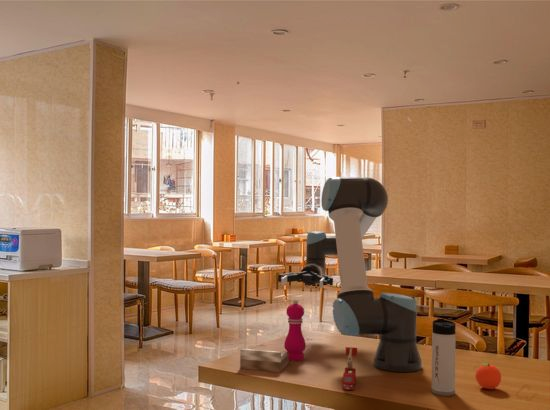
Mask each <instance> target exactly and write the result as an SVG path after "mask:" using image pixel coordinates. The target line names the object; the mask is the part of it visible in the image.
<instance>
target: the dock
mask: <svg viewBox="0 0 550 410" xmlns="http://www.w3.org/2000/svg"><path fill="white" fill-rule="evenodd" d="M239 355H240V357H239V358H240V359H239V364H240V365H239V369H243V370H250V371H251V370H252V371H253V370H254V371H265V372H275V373H280V372H282V371H283V370H284V369H285V368H286V367H287V365H288V364H289V361H290V360H289V354H287V351H286V350H283V351H279V350H278V351H275V350H274V351H273V350H263V349H262V350H261V349H252V348H251V347H248V348H240V354H239Z"/></svg>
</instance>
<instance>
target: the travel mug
mask: <svg viewBox="0 0 550 410" xmlns="http://www.w3.org/2000/svg"><path fill="white" fill-rule="evenodd" d="M456 333H457V332H456V323H455V322H454V321H452V320H449V319H444V318H437V319H435V320H433V321H432V333H431V339H432V340H431V348H432V349H431V392H432V394H435V395H437V396H441V397H442V396H443V397H451V395H452V396H454V395H455V394H456V344H457V343H456V341H457V340H456V339H457V338H456V335H457V334H456Z"/></svg>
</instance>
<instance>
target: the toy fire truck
mask: <svg viewBox="0 0 550 410" xmlns="http://www.w3.org/2000/svg"><path fill="white" fill-rule="evenodd" d="M357 355H358V347H352V346H351V347H350V346H349V347H347V346H346V347H345V356H347V360H346V362H347V363H346V364H347V367H345V369H344V372H343V375H342V389H343V390H350V391H351V390H355V389H356V388H355V385H356V383H357V377H356V374H357V369H356V367H355V368H354V367H353V366H354V365H353V357H357Z"/></svg>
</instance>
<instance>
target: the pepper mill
mask: <svg viewBox="0 0 550 410" xmlns="http://www.w3.org/2000/svg"><path fill="white" fill-rule="evenodd" d="M286 315H287V317H288V318H287V323H288V332H287V336H286V337H285V340H284V345H283V346H284V349H285V351H287V354H289V361H293V362H296V361H297V362H299V361H303V360H305V353H304V351H305V349H306V347H307V346H306V340H305V338H304V335H303V330H302V324H303V317H304V315H305V309H304V306H303V305H301V304H300V303H299V301H298V299H295V298H294V299H293V300H292V303H291V304H289V305H288V306H287V308H286Z"/></svg>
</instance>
